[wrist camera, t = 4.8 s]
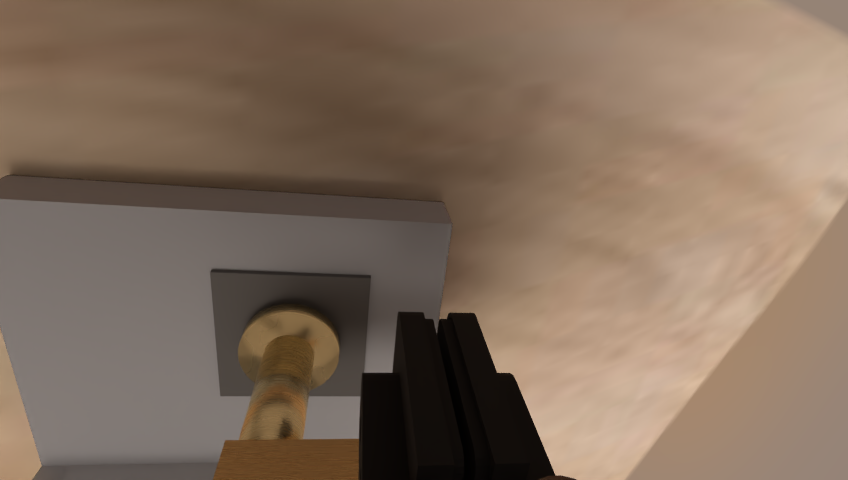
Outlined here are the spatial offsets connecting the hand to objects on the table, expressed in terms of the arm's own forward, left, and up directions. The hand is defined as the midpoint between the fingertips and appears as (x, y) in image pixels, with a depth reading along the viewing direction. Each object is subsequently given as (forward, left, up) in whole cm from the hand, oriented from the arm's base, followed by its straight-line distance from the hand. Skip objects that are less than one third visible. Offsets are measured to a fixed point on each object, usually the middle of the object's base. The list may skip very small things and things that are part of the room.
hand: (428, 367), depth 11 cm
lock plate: (+9, -6, -8) cm, 13 cm away
